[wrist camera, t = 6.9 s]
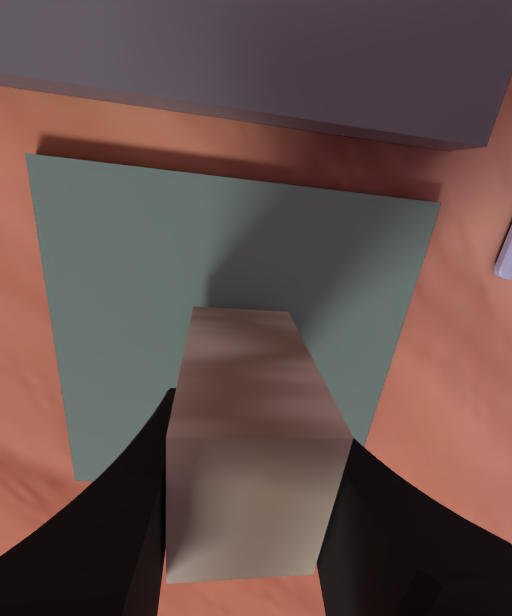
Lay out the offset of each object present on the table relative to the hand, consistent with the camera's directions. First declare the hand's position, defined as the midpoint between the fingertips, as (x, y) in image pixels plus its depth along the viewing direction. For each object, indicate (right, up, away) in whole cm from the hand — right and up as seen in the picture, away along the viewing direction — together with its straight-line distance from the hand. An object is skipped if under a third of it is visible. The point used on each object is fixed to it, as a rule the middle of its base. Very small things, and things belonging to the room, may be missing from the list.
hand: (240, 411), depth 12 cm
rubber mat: (0, +2, +4) cm, 4 cm away
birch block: (0, +1, +2) cm, 3 cm away
